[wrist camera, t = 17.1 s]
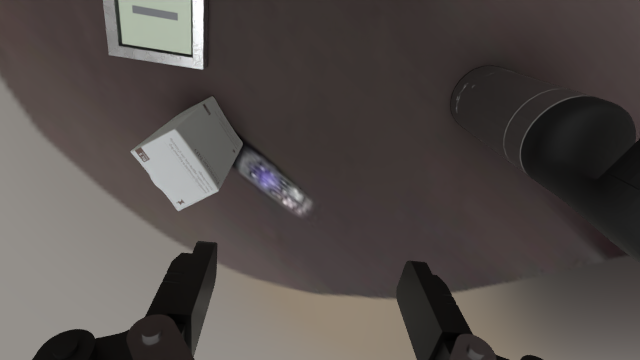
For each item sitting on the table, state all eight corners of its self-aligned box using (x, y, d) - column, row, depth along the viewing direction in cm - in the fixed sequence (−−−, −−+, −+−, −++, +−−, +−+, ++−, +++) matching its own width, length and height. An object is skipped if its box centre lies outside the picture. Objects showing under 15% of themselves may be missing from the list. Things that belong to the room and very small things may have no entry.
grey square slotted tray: (208, -31, 39) (203, -33, 37) (207, 66, 44) (202, 69, 42) (108, -51, 38) (96, -54, 36) (118, 52, 43) (109, 54, 41)
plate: (194, -19, 39) (190, -20, 38) (194, 53, 43) (191, 54, 41) (121, -33, 38) (114, -34, 37) (127, 42, 42) (122, 43, 40)
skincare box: (244, 143, 49) (225, 193, 36) (209, 160, 50) (178, 215, 37) (211, 92, 46) (176, 127, 33) (174, 111, 47) (126, 153, 34)
